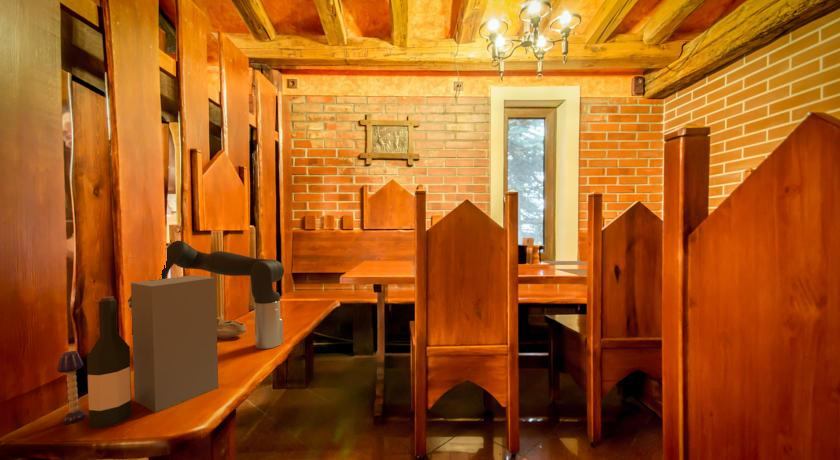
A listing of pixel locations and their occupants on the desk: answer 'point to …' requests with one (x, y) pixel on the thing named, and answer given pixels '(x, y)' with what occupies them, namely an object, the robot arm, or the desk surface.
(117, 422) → the wine bottle
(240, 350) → the desk surface
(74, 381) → the toy lamp
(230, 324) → the oil lamp
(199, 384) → the stand
